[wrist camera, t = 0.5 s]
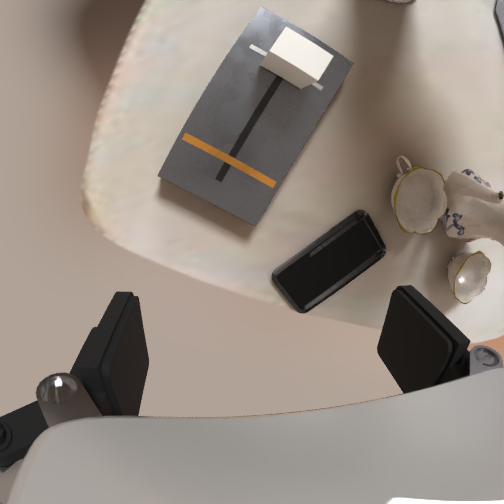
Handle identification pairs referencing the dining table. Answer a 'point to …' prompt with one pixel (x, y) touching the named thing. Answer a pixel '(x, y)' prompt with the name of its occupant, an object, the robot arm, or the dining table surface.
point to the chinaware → (452, 218)
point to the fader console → (249, 124)
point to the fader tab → (296, 59)
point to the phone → (330, 262)
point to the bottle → (500, 14)
